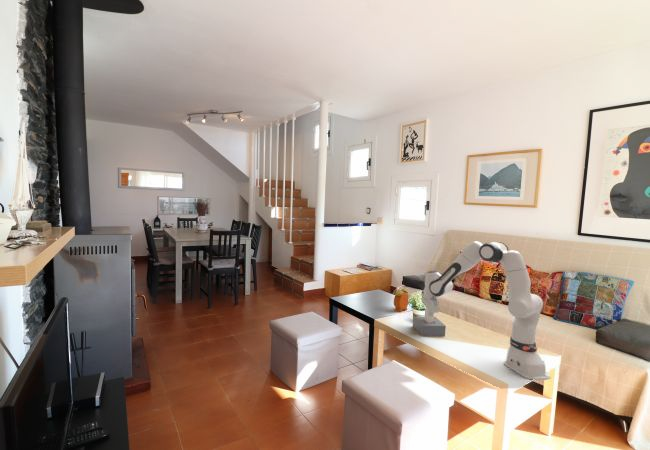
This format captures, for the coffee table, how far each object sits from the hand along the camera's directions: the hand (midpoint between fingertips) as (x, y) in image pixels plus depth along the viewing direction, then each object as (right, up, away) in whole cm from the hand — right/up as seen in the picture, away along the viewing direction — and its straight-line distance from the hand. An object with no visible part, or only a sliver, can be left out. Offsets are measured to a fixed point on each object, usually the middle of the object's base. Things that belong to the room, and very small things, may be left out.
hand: (429, 314), depth 221 cm
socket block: (0, -12, +1) cm, 12 cm away
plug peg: (0, -5, 0) cm, 5 cm away
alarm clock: (-10, -8, +41) cm, 43 cm away
